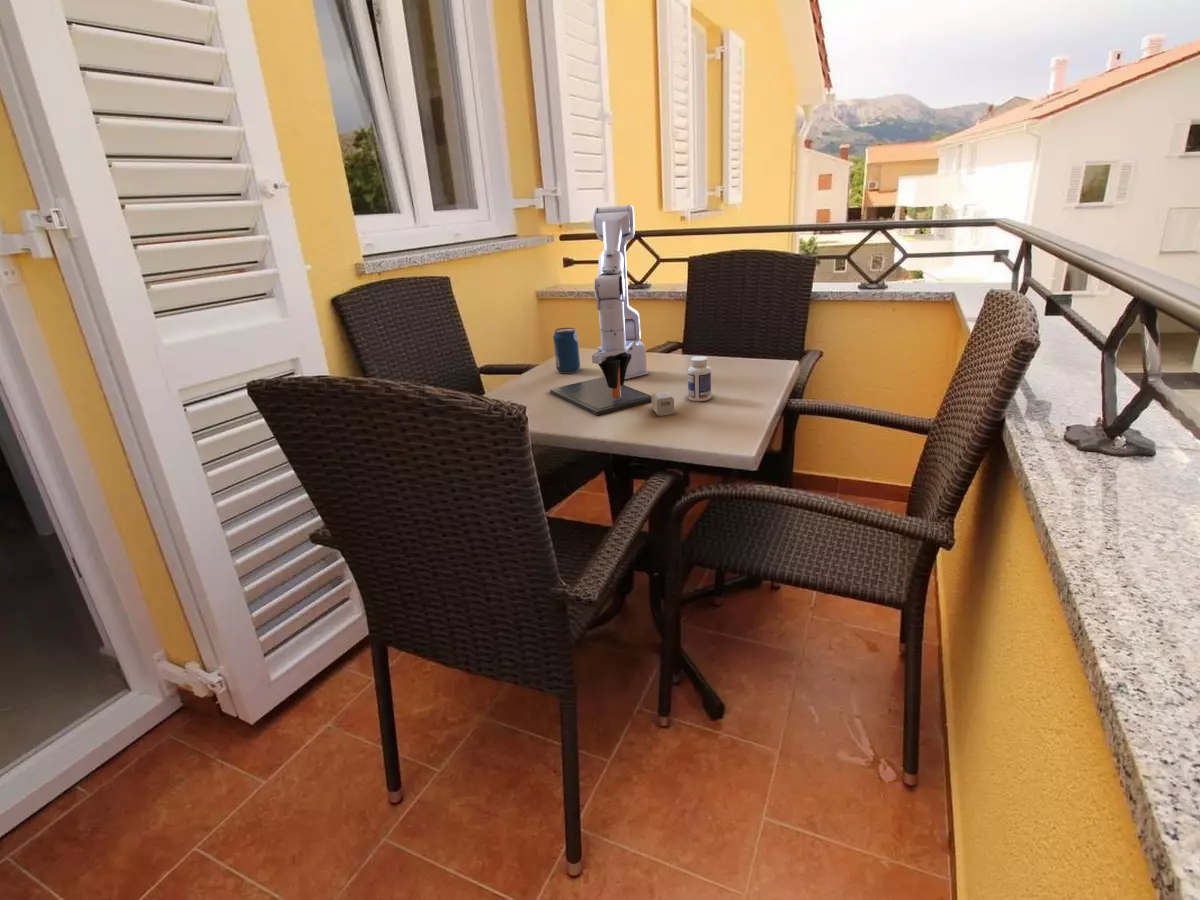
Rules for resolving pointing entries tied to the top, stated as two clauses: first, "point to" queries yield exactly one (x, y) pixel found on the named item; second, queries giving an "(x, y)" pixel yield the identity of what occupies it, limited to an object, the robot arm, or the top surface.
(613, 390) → the orange marker
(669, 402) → the usb wall charger
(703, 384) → the pill bottle
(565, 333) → the soda can
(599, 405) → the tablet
